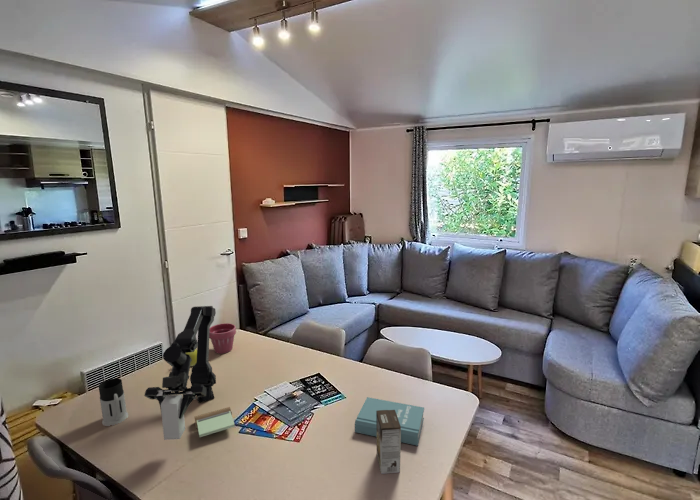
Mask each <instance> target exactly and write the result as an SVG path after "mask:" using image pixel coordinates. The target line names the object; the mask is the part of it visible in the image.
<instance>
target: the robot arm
mask: <svg viewBox="0 0 700 500" xmlns="http://www.w3.org/2000/svg"><path fill="white" fill-rule="evenodd" d="M215 317H216V308H214V307H213V305H202V306H201V305H200V306H192V307H191V308H190V314H189V317H188V319H187V321H186V324H185V326H184V328H183V330H182V331H181V332H179V333H178V334H177V335H176V337H175V339H174V340H173V342H172V343H170V344H171V345H170V346H169V347H167V348H166V349H165V351H164V352H163V354H162V358H163V360H164V361H165V362H166V363H167V364H169V366H171V371H170V372H169V374H168V376H165V377H162V382H161V383H162V385H161V387H159V386H154V387H153V386H151V387H147V388H146V389H145V390H144V391H145V392H144V395H143V396H144V397H146V398H147V399H149V400H156V401H158V404H159V407H160V408H159V409H160V410H161V403H162V402H163V400H164V399H165V397H166V396H167V395H182V397H183V402H182V406H181V410H180V415H179V419H181V418H182V417H183V415H184V416H185V413H186V412H187V410H188V408H189V406H190V405H191V404H192V402H193V401H194V400H197V403H198V404H201V403H203V402H206V401H211V400H213V399H215V394H214V391H213V387H214V385H215V384H217V377H216V374H215V373H214V372H213V367H212V365H211V364H210V361H209V354H210V352H209V351H210V338H209V333H210V327H212V326H211V325H212V324H213V323H214V322H215ZM195 349H196V350H197V362H196V364H195V365H194V366H192V368H191V367H190V363H191V361H192V359H191V357H190V355H188V354H186V353H188V352H194V351H195ZM190 369H191V373H190ZM189 374H190V375H189ZM188 380H189V381H190V387H187V385H188ZM164 388H165V389H164ZM160 414H161V417H162V413H161V412H160Z"/></svg>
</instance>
